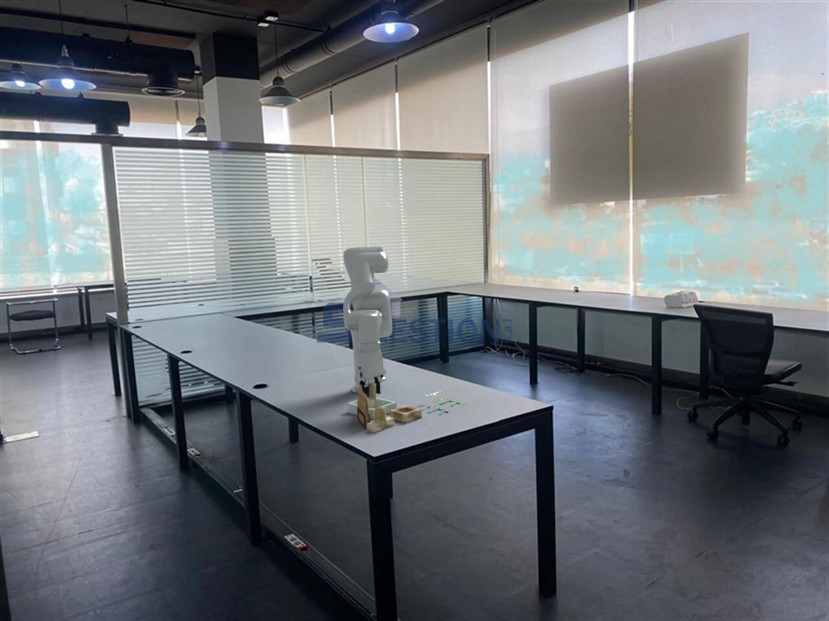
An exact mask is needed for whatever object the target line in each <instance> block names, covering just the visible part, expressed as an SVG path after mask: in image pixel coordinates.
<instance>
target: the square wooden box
mask: <svg viewBox="0 0 829 621" xmlns="http://www.w3.org/2000/svg"><path fill="white" fill-rule="evenodd" d="M414 407H415V406H414ZM414 407H413V406H411V405H409V406H406V405H405V406H402V407H399V408H396V409H393V410H390V414H389V417H392V418H394V419H395V421H397V420H398V421H397V422H400V421H402V422H401V423H404V422H408V423H410V422H413V421H415V420H414V419H416V420H418V419H417V418H419V419H421V418H422V416H423V415H422V414H423V413H422V412H423V411H421V410H422V408H419V407H416V408H414ZM420 417H421V418H420ZM412 420H413V421H412ZM409 421H410V422H409Z"/></svg>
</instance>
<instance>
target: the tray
mask: <svg viewBox="0 0 829 621" xmlns="http://www.w3.org/2000/svg"><path fill="white" fill-rule="evenodd" d="M367 399H368V398H367ZM357 400H358V399H356V400H353V401H349V402H347V404H346V405H347V407H346V409H347V413H348V412H349V414H352V415H355V414H356V416H357V407H358V401H357ZM397 403H398V402H396V401H394V400H393V401H392V400H389V399H385V398H382V397H377V396H376V404H377V407H380V406H382V407H386V416H389V415H390V410H393V409H396V408H397V405H398V404H397ZM369 414H370V420H375V408H374V409H371V408H369Z"/></svg>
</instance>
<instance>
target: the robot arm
mask: <svg viewBox="0 0 829 621" xmlns="http://www.w3.org/2000/svg"><path fill="white" fill-rule="evenodd" d="M342 257H343V264H344V267H345V270H346V271H347V274H348V277H349V280H350V287H351V289H350V291H349V292H348V293H347V294H346V296H345V298H344V301H343V307H342V308H343V323H344V327H345V329H347V330H348V331H350V334H351V339H352V351H353V372H354V385H353V386H351V391H352V393H356V394H358V389H359V388H360V389H361V390H362V391H363V392H364V393H365V394H366V395H367V398H368V397H369V387H368V383H376V395H380V394H382V392H381V390H382V385H381V384H382V383H384V382H386V377H385V375H386V374H387V371H386V369H385V368H384V360H383V354H382V349H381V346H380V345H382V343H381V341H380V339H381V338H388V337H390V336H391V335H392V333H393V319H392V306H391V305H392V304H391V297H390V293H389V292H388V291H387V290H386V289H383V288H382V289H381V288H377V289H376V282H375V274H384V273H386V272H387V271H388V270H389V258H388V254H387V253H386V250H385V248H384V247H382V246H356V247H349V248H346V249H345V250H344V251H343V256H342ZM351 307H352V309H353V310H351Z"/></svg>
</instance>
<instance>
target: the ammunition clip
mask: <svg viewBox="0 0 829 621" xmlns="http://www.w3.org/2000/svg"><path fill="white" fill-rule="evenodd" d="M356 400H357V401H358V407H357V415H356V416H357V422H358V421H359V422H358V423H359V424H360V425H361V426H362V428H363V427H364V428H363V429H364V430H367V424H368V423H371V419H370V414H369V406H368V399H367V395H366V394H365V393H364V392H363V391H362V390H361V389H360V388H359V389H358V393H357V399H356Z"/></svg>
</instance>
